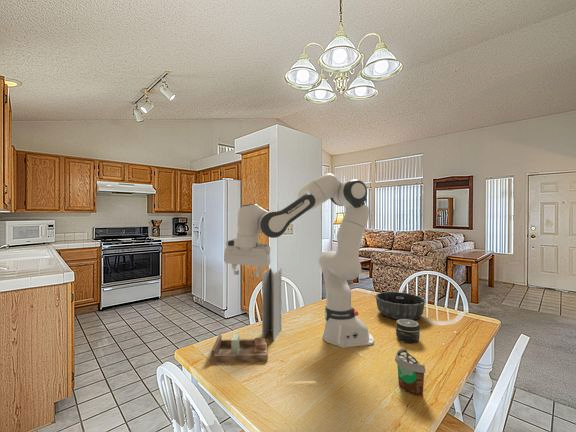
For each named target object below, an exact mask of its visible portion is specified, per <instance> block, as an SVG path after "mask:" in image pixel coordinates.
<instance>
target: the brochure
mask: <svg viewBox="0 0 576 432" xmlns="http://www.w3.org/2000/svg"><path fill="white" fill-rule="evenodd" d="M261 275H262V276H261V277H262V279H261V281H262V283H261V288H262V289H261V292H262V293H261V299H262V300H261V306H262V307H261V308H262V309H261V310H262V312H261V320H262V321H261V329H262V330H261V333H262V335H261V338H264V339H265V338H266V336H267V334H268V333H270V332H271V336H272V340H273V341H274V342H275V340H276V339H277V337H278V335H279V334H280V332H281V331H282V268H281V267H279V269H278V270H277V271H276V272H274V270H273V269H272V267H270V268H268V269H267V270H264V272H262V273H261Z"/></svg>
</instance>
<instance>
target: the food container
mask: <svg viewBox="0 0 576 432" xmlns="http://www.w3.org/2000/svg"><path fill="white" fill-rule="evenodd" d="M407 348H408V347H407ZM407 348H406V347H405V348H400V349H398V350H397V352H396V354H395V356H394V361H395V362H396V364H397V378H398V386H399V388H400V390H403V391H404V392H406V393H408V394H410V395H413V396H421V397H423V395H424V385H425V374H426V365H424V364H420V362H418V360H417V359H416V357H414V356H413V355H411V354H410V353H409V352H408V351H407V350H408V349H407Z"/></svg>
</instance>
